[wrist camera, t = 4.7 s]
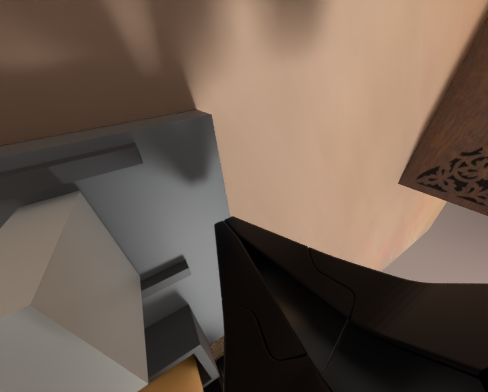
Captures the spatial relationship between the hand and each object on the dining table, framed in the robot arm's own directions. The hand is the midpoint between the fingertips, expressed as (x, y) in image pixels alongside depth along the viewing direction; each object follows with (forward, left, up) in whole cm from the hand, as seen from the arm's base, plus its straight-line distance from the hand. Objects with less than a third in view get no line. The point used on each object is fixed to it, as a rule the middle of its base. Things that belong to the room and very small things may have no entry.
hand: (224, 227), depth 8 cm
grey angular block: (0, +5, -2) cm, 5 cm away
